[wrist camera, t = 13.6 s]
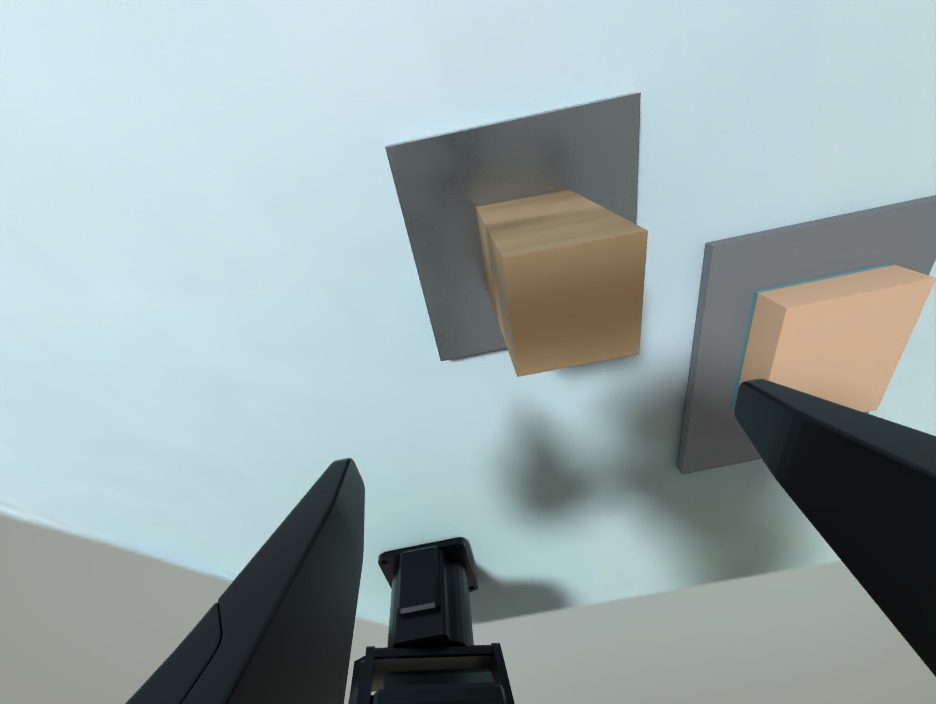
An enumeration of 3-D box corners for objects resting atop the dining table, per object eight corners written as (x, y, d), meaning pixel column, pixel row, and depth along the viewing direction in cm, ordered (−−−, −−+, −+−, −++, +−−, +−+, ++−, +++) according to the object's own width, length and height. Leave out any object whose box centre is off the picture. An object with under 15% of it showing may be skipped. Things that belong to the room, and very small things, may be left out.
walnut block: (571, 278, 19) (639, 354, 13) (488, 293, 19) (517, 376, 13) (569, 189, 17) (647, 230, 11) (475, 207, 17) (503, 258, 11)
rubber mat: (848, 433, 28) (856, 439, 27) (677, 467, 28) (681, 474, 27) (949, 192, 20) (963, 194, 19) (705, 243, 20) (713, 246, 19)
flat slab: (876, 409, 23) (936, 277, 19) (754, 433, 23) (786, 308, 19) (842, 387, 25) (889, 263, 21) (729, 409, 25) (753, 290, 21)
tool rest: (624, 313, 21) (632, 322, 21) (440, 351, 22) (440, 361, 21) (629, 93, 16) (640, 92, 15) (387, 145, 16) (385, 147, 16)
